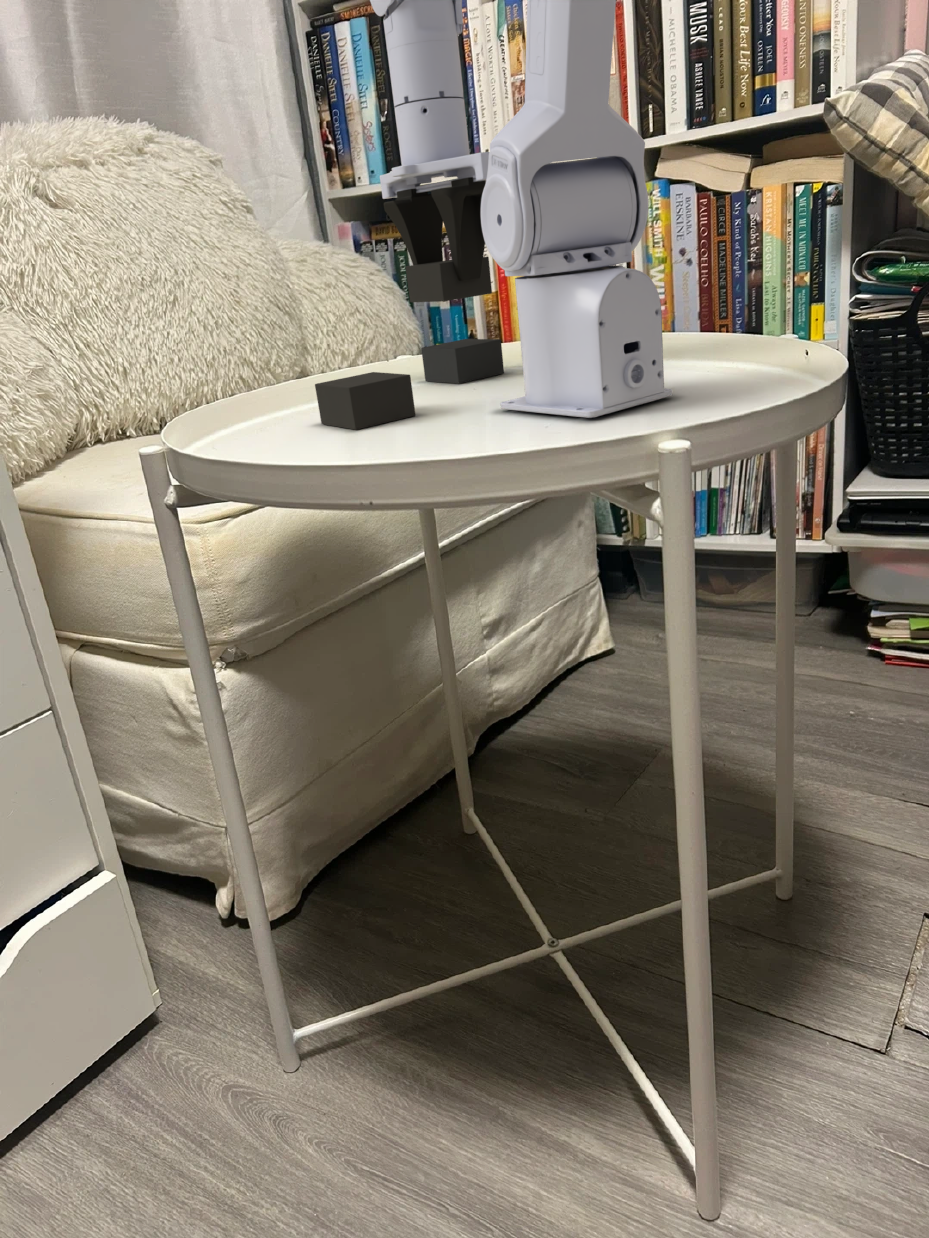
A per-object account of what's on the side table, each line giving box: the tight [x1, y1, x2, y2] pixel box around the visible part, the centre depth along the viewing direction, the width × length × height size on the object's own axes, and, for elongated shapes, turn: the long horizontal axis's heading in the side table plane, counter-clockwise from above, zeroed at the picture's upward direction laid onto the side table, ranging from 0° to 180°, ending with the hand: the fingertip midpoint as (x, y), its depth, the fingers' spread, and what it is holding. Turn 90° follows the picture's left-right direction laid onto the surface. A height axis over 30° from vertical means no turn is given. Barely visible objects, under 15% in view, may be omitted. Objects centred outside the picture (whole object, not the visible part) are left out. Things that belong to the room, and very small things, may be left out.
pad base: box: [420, 338, 505, 385], centre depth 85 cm, size 5×5×3 cm
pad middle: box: [405, 256, 493, 303], centre depth 81 cm, size 5×5×3 cm
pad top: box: [314, 371, 417, 431], centre depth 70 cm, size 5×5×3 cm
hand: (449, 281), depth 81 cm, fingers closed on pad middle, 5 cm apart
